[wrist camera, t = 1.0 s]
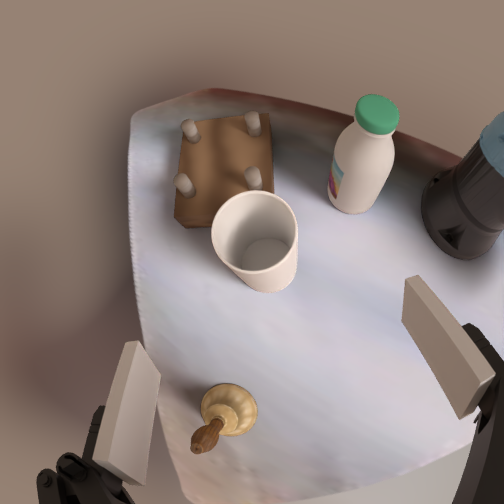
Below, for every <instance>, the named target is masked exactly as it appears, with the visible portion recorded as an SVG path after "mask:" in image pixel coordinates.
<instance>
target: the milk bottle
mask: <svg viewBox="0 0 504 504" xmlns="http://www.w3.org/2000/svg"><path fill="white" fill-rule="evenodd" d="M398 121H399V111H398V109H397V107H396V106H395V105H394V103H393V102H391V101H390V100H389V99H387V98H385V97H383V96H380V95H375V94H369V95H366V96H363V97H361V98H360V99H359V101H358V102H357V105H356V109H355V114H354V122H353V123H352V124H350V125H349V126H348V127H347V128H345V129H344V130H343V132H342V133H341V134H340V136H339V138H338V140H337V142H336V145H335V149H334V153H333V159H332V164H331V169H330V175H329V181H328V188H327V191H328V196H329V199H330V201H331V202H332V204H333V205H334V206H335V207H336V208H337V209H339V210H340V211H342V212H344V213H348V214H361V213H363V212H366V211H367V210H368V209H370V208H371V206H372V205H373V203H374V202H375V200H376V198H377V197H378V195H379V193H380V191H381V189H382V187H383V185H384V183H385V181H386V179H387V178H388V176H389V173H390V171H391V169H392V166H393V162H394V156H395V151H394V144H393V140H392V136H391V135H392V134H393V133H394V131H395V128H396V126H397V124H398Z"/></svg>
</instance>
